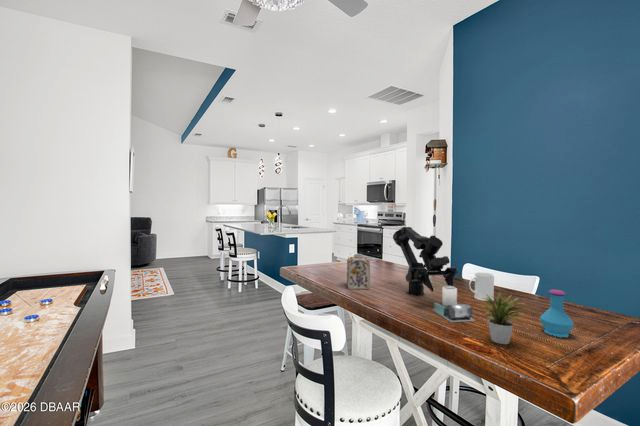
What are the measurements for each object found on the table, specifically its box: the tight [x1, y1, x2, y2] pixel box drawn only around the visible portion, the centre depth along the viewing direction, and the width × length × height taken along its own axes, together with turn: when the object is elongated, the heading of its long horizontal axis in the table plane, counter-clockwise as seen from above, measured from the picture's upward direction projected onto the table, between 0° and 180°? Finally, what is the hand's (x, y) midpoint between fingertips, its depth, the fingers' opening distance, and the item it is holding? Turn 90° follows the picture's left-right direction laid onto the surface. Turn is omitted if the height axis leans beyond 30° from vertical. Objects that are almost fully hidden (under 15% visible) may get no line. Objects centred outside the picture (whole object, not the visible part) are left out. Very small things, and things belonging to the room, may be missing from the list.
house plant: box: [481, 290, 529, 345], centre depth 96 cm, size 14×14×16 cm
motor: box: [432, 302, 475, 323], centre depth 120 cm, size 13×10×6 cm
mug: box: [468, 271, 495, 302], centre depth 144 cm, size 12×8×12 cm
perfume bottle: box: [539, 289, 574, 338], centre depth 104 cm, size 9×9×15 cm
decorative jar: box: [346, 253, 371, 290], centre depth 164 cm, size 12×12×18 cm
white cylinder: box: [441, 285, 458, 308], centre depth 123 cm, size 6×6×10 cm
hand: (442, 290), depth 127 cm, fingers open, 9 cm apart
